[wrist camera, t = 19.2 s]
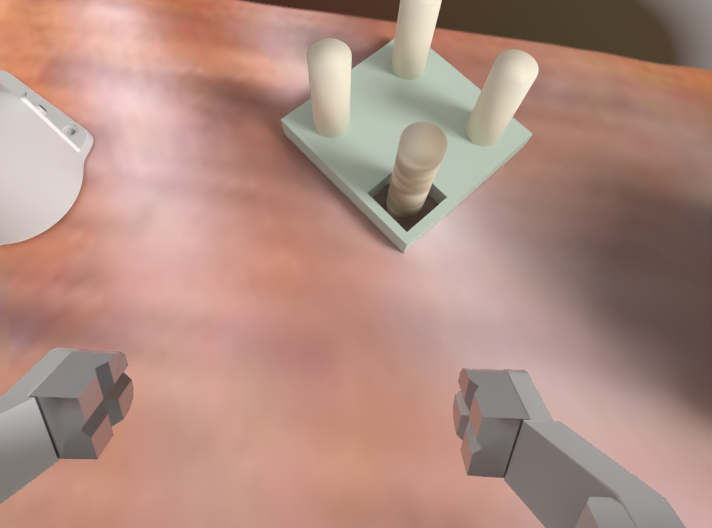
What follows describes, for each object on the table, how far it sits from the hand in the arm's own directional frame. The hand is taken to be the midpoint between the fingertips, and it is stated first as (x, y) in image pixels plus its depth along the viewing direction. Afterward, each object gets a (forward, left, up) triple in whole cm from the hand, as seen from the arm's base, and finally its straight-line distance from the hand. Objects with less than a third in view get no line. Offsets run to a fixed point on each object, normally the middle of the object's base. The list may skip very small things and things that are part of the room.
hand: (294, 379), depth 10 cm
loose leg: (-10, +20, -31) cm, 38 cm away
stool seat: (-16, +26, -31) cm, 43 cm away
